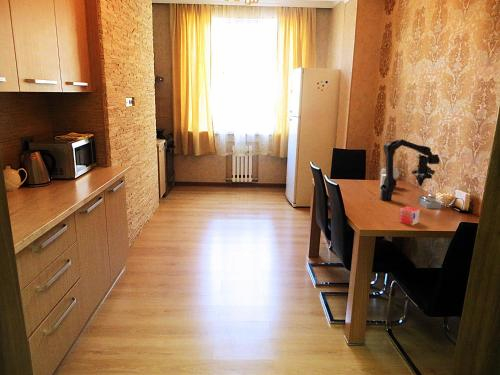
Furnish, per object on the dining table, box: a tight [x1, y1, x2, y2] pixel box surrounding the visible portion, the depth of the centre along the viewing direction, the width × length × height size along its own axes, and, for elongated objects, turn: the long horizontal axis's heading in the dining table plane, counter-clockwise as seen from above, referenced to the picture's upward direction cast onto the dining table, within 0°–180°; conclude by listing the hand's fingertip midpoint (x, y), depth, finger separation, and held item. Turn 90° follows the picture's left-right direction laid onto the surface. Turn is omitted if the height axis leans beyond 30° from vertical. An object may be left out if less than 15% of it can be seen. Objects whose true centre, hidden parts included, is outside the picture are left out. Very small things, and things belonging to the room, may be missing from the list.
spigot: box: [427, 193, 437, 203], centre depth 240 cm, size 5×5×8 cm
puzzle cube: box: [398, 206, 421, 226], centre depth 207 cm, size 8×8×8 cm
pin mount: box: [417, 195, 428, 203], centre depth 250 cm, size 5×5×4 cm
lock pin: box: [417, 193, 428, 202], centre depth 249 cm, size 3×11×3 cm, turn 0°
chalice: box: [380, 166, 400, 179], centre depth 297 cm, size 14×14×15 cm
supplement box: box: [379, 173, 386, 192], centre depth 283 cm, size 7×7×13 cm
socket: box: [419, 199, 442, 209], centre depth 242 cm, size 9×12×4 cm
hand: (420, 186), depth 256 cm, fingers closed
